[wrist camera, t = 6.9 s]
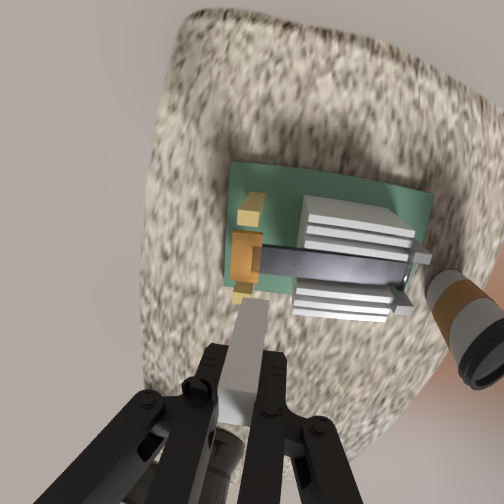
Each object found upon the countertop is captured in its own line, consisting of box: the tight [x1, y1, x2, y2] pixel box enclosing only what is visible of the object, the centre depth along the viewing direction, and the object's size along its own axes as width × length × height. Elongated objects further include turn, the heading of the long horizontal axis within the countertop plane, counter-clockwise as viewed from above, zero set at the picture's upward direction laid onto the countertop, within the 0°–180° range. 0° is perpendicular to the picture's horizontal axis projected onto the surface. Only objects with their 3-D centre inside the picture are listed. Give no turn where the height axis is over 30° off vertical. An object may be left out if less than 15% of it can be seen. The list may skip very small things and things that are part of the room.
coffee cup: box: [426, 270, 504, 390], centre depth 23 cm, size 8×8×15 cm
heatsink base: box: [224, 161, 434, 322], centre depth 25 cm, size 22×14×9 cm, turn 85°
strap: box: [230, 229, 414, 292], centre depth 23 cm, size 16×4×1 cm, turn 85°
